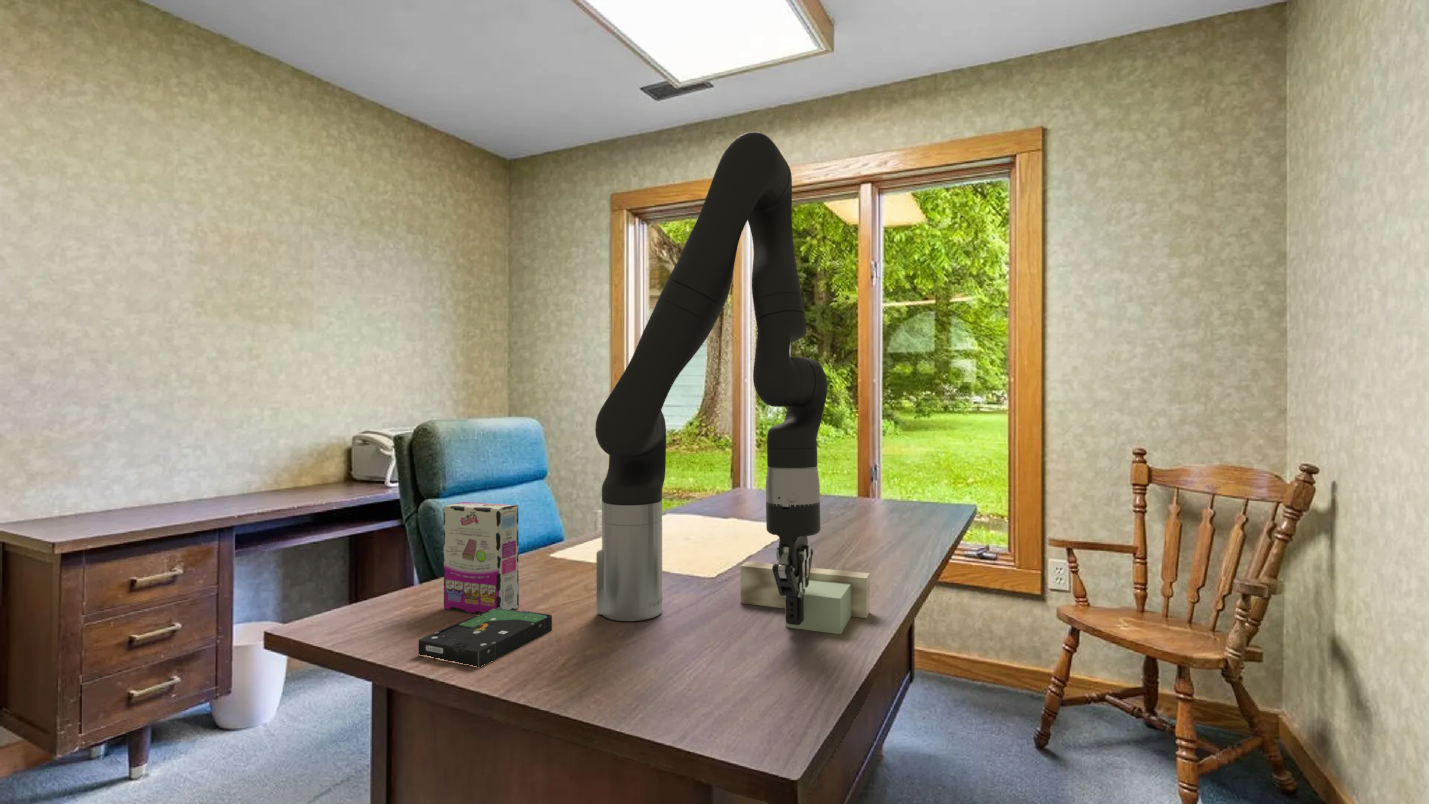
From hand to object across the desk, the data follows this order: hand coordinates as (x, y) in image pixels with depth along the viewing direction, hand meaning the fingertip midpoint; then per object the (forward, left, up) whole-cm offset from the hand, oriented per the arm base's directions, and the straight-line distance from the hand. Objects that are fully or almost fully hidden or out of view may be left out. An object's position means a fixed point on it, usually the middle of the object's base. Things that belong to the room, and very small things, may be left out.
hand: (794, 623), depth 93 cm
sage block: (+2, +7, -2) cm, 7 cm away
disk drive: (-38, -18, -2) cm, 42 cm away
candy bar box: (-49, -7, -2) cm, 49 cm away
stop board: (-2, +12, -2) cm, 12 cm away
